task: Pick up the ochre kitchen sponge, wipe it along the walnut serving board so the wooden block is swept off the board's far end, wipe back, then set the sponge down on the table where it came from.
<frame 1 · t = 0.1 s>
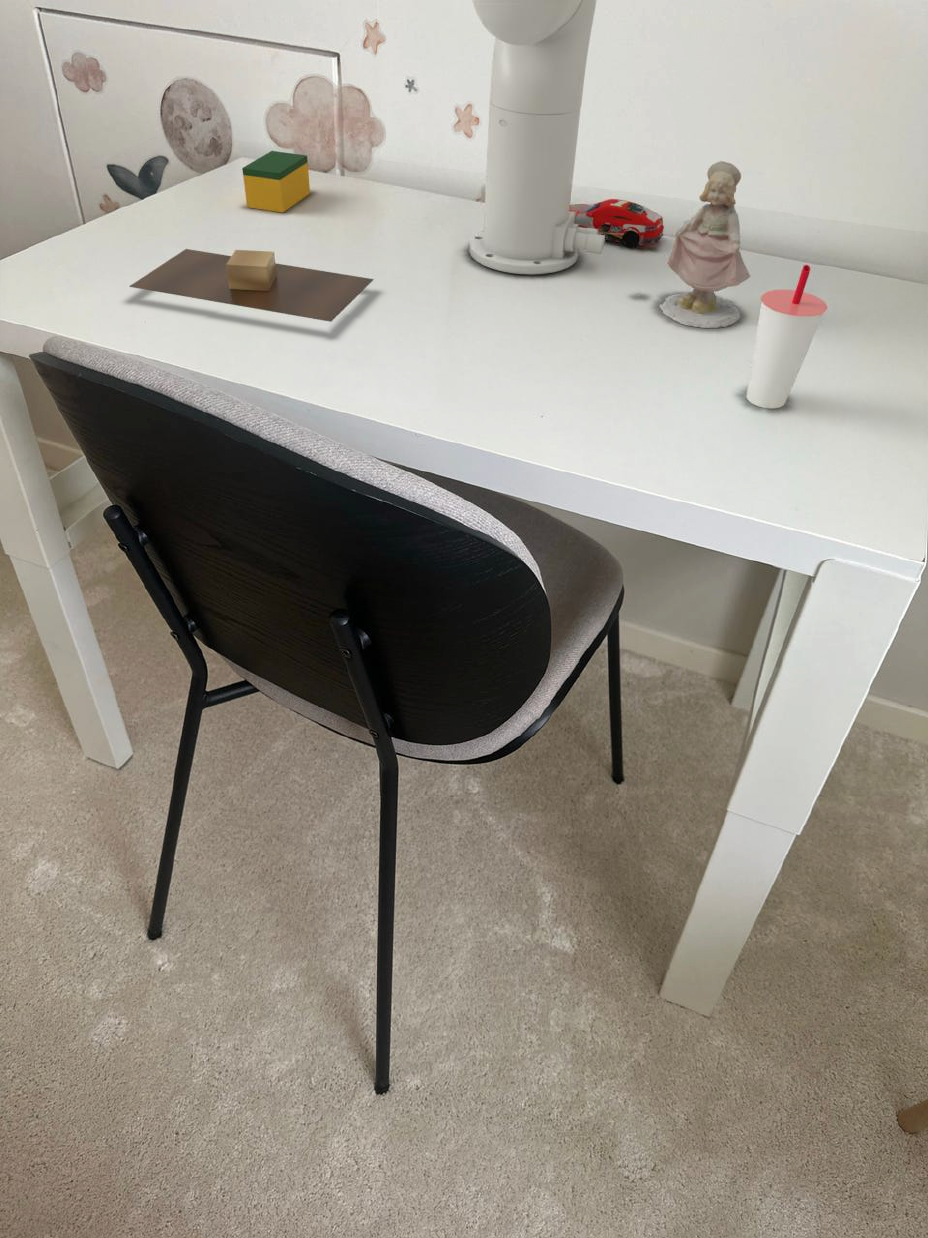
board: (255, 296, 92), on the table
figurine: (687, 310, 94), on the table
race car: (606, 237, 109), on the table
cup: (765, 401, 80), on the table
sponge: (279, 200, 114), on the table
wooden block: (253, 282, 91), point 1 cm above the table, touching board
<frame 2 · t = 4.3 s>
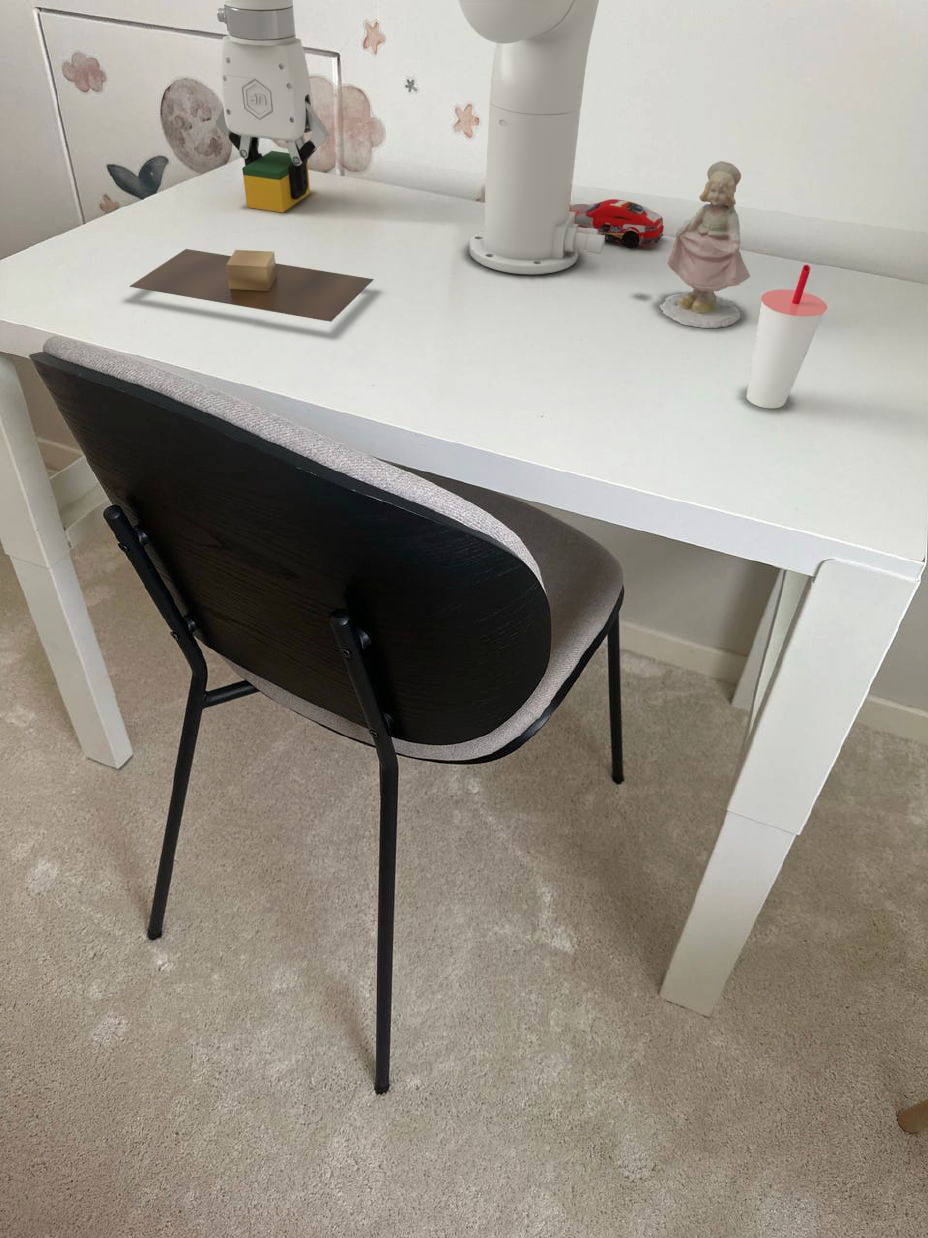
hand: (278, 191, 114), 1 cm above the table, tool pointing down, fingers closed on sponge, 5 cm apart
sponge: (279, 200, 114), on the table, touching gripper
everything else where it was.
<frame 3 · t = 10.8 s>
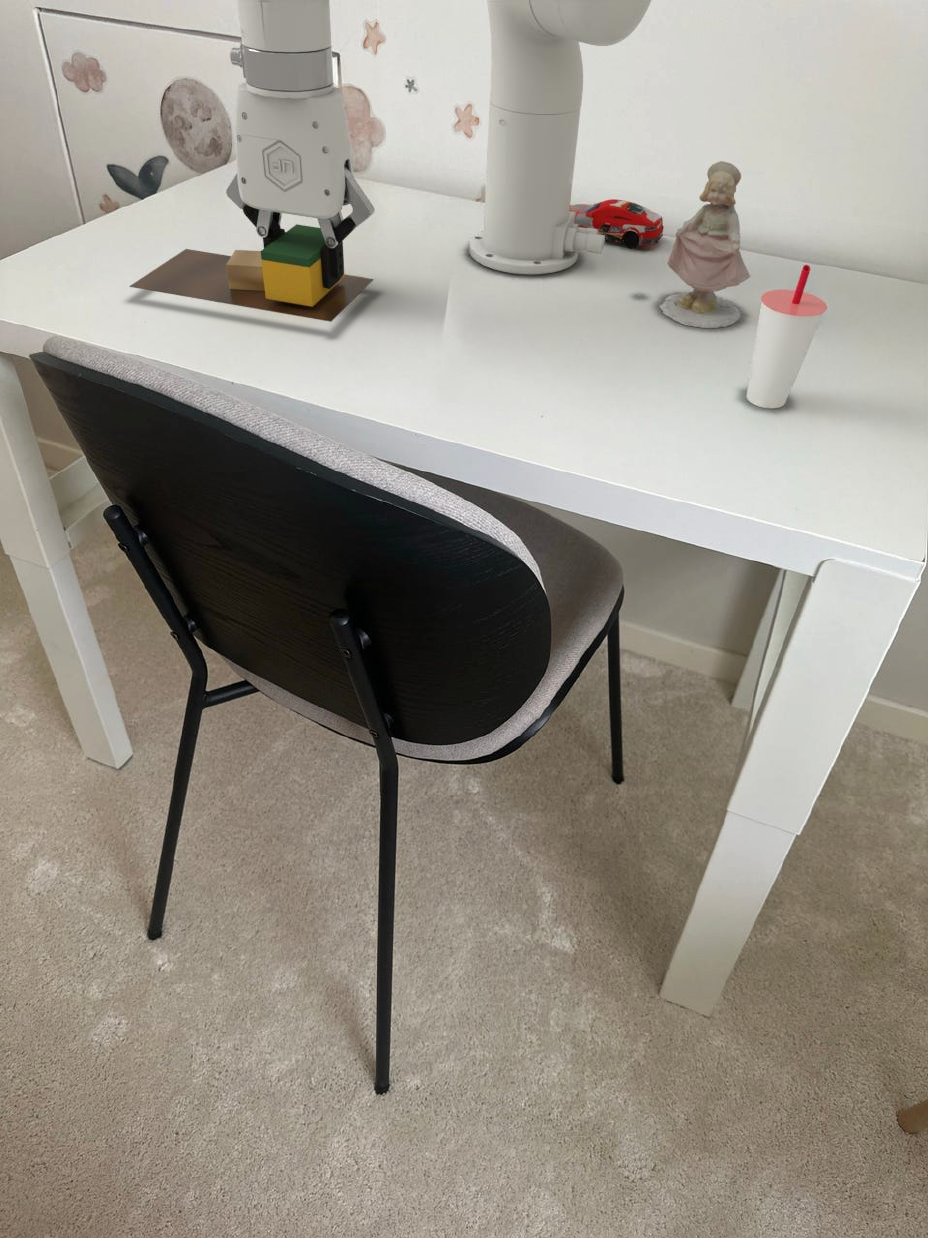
hand: (305, 277, 89), 3 cm above the table, tool pointing down, fingers closed on sponge, 5 cm apart
sponge: (306, 287, 89), point 2 cm above the table, touching gripper
wooden block: (253, 282, 91), point 1 cm above the table, touching board, gripper
everything else where it was.
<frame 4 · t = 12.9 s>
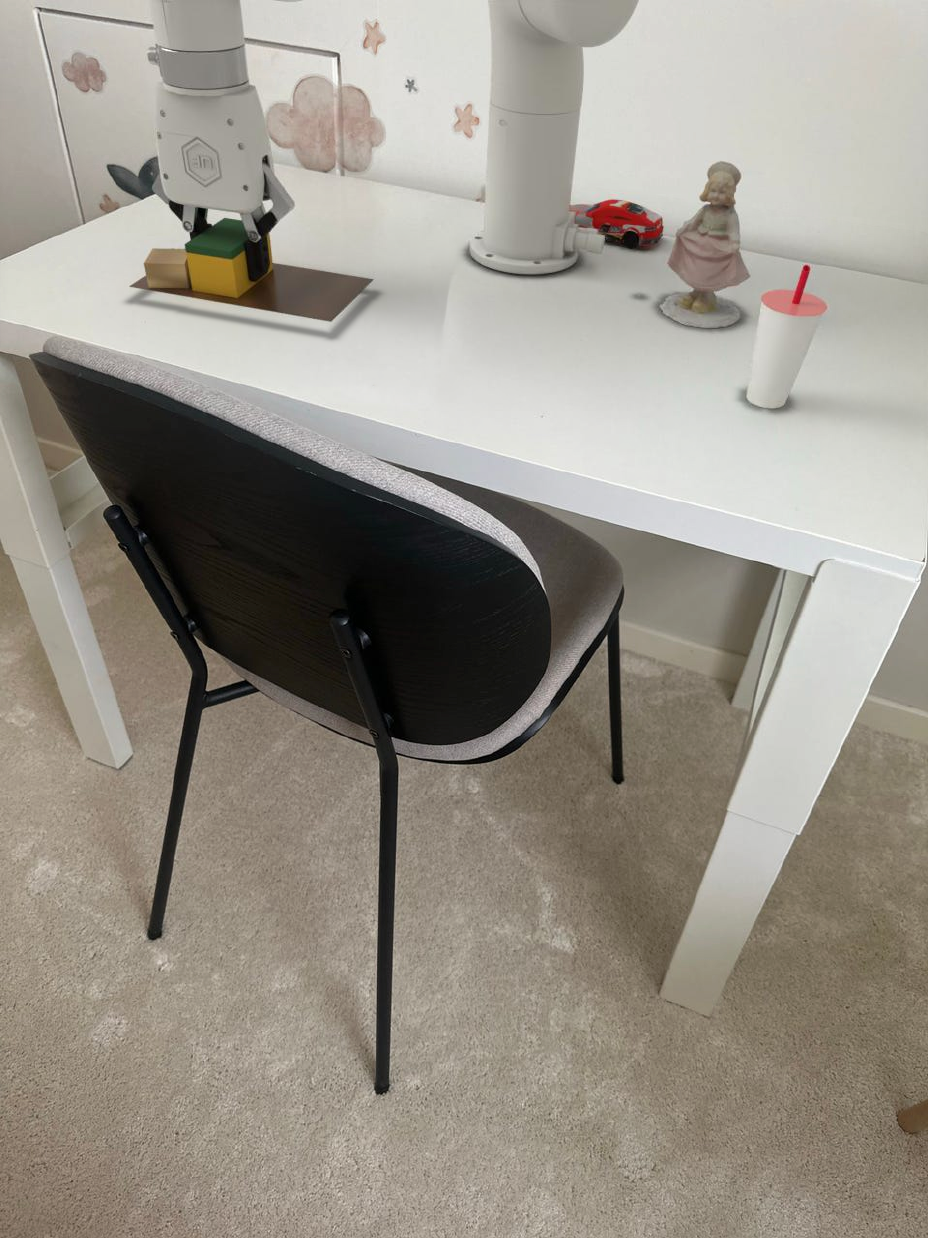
hand: (233, 270, 91), 2 cm above the table, tool pointing down, fingers closed on sponge, 5 cm apart
sponge: (234, 279, 92), point 2 cm above the table, touching gripper
wooden block: (173, 280, 91), point 1 cm above the table, touching board, gripper
everything else where it was.
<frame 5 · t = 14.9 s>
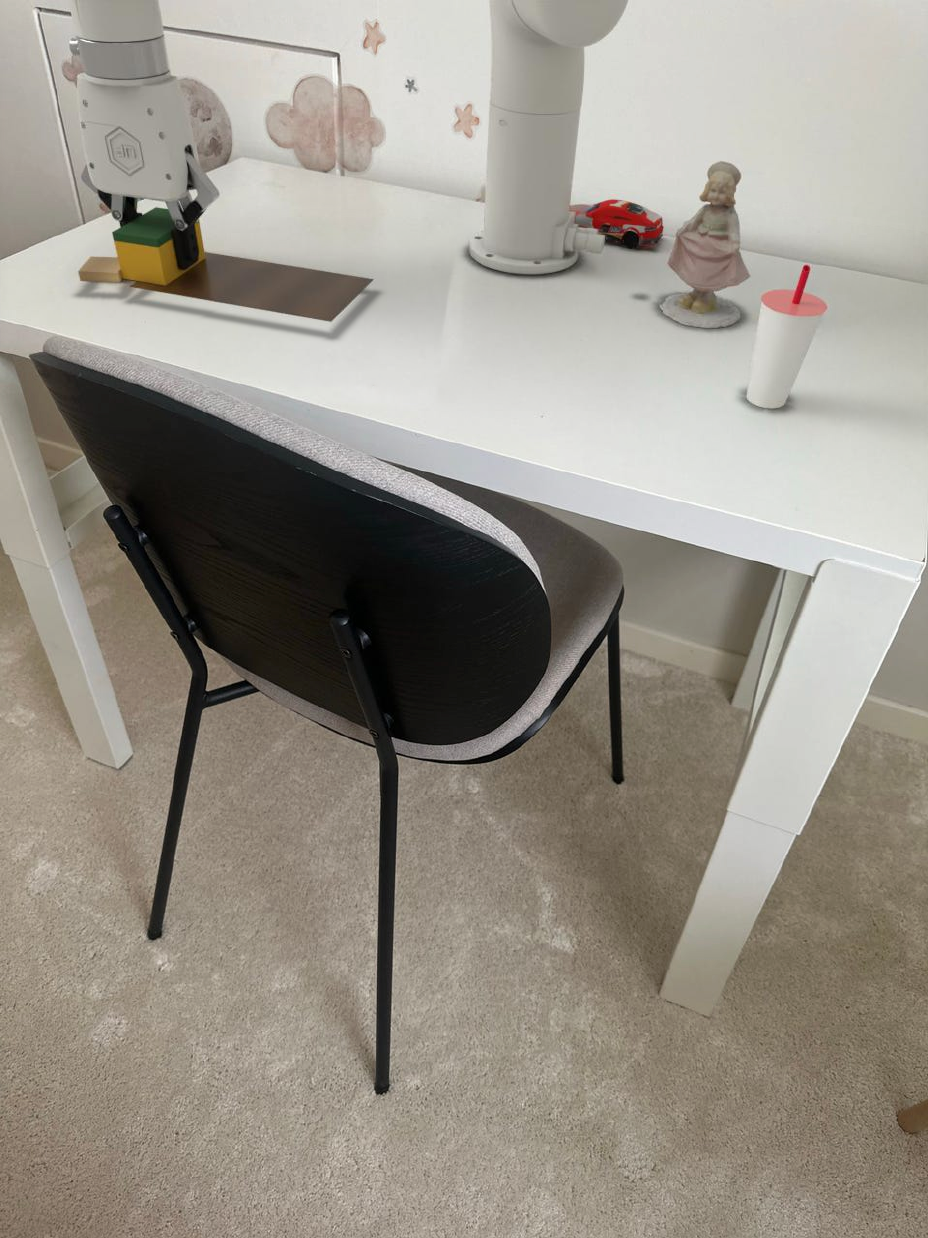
hand: (163, 259, 93), 2 cm above the table, tool pointing down, fingers closed on sponge, 5 cm apart
sponge: (165, 267, 93), point 2 cm above the table, touching gripper
wooden block: (109, 288, 93), on the table
everything else where it was.
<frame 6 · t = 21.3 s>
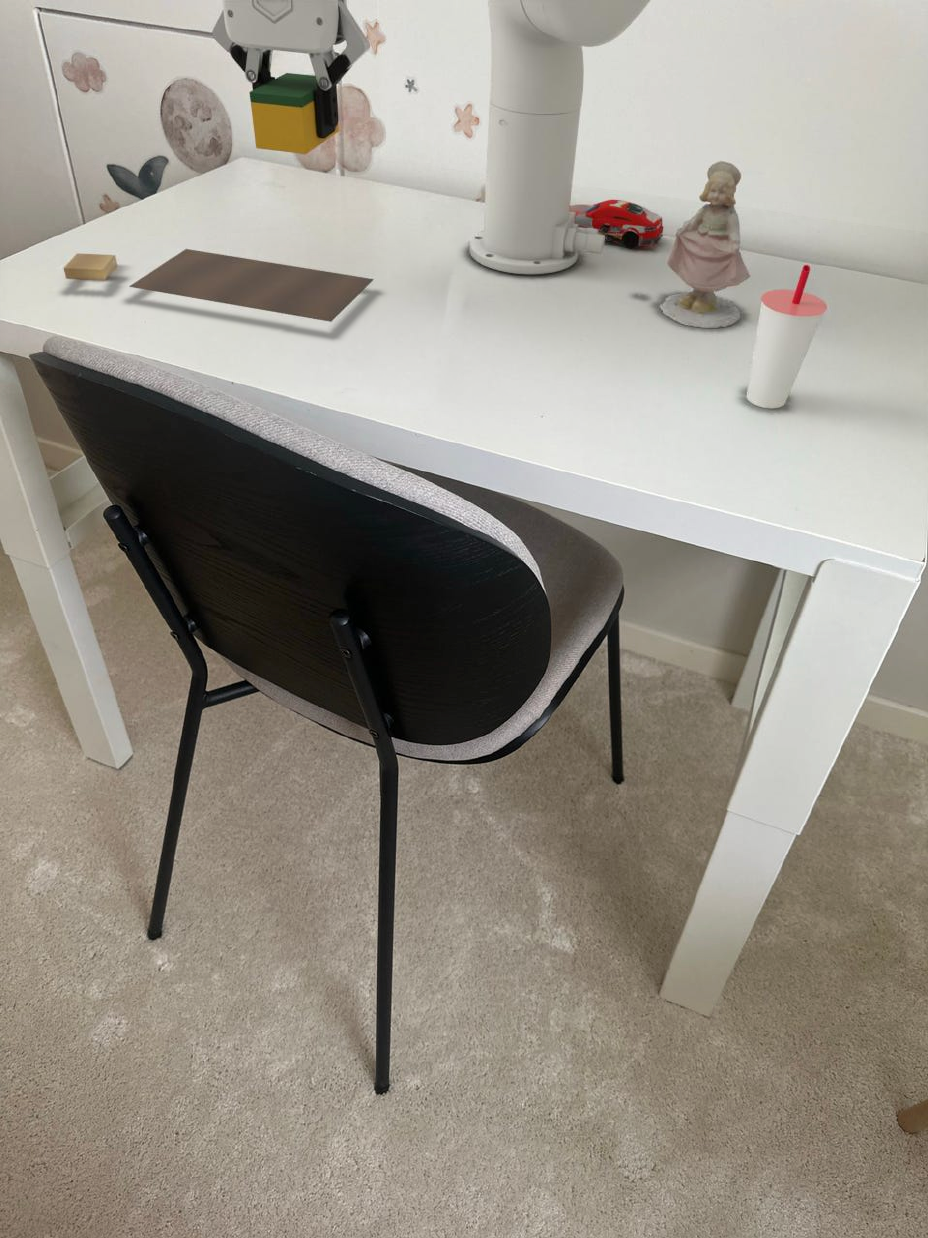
hand: (298, 129, 84), 15 cm above the table, tool pointing down, fingers closed on sponge, 5 cm apart
sponge: (298, 139, 85), point 14 cm above the table, touching gripper
wooden block: (95, 285, 93), on the table
everything else where it was.
when the fingers open (1 cm above the table, at t = 27.1 s): sponge stays where it is, on the table.
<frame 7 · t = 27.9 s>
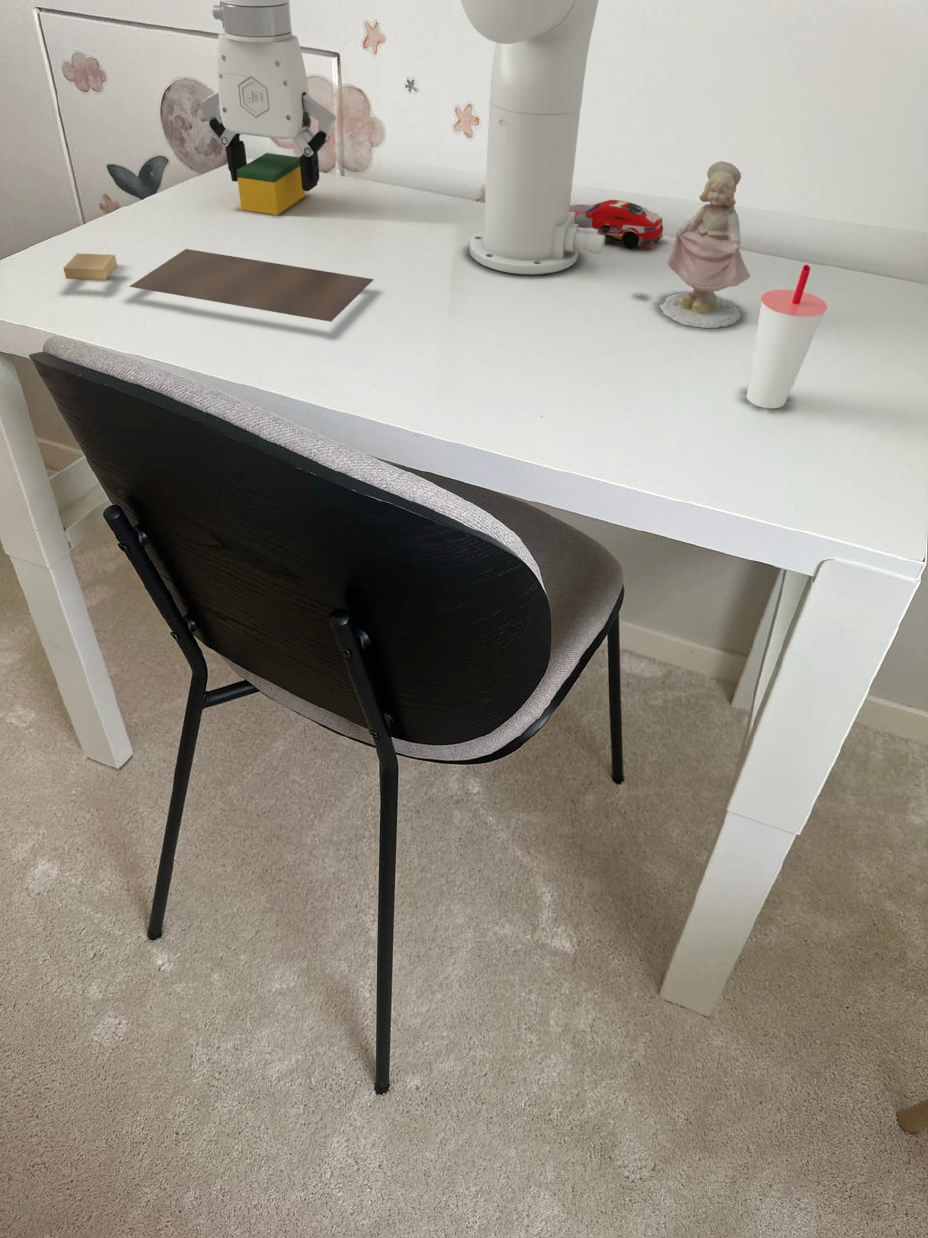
hand: (274, 183, 112), 2 cm above the table, tool pointing down, fingers open, 9 cm apart
sponge: (274, 202, 113), on the table
everything else where it was.
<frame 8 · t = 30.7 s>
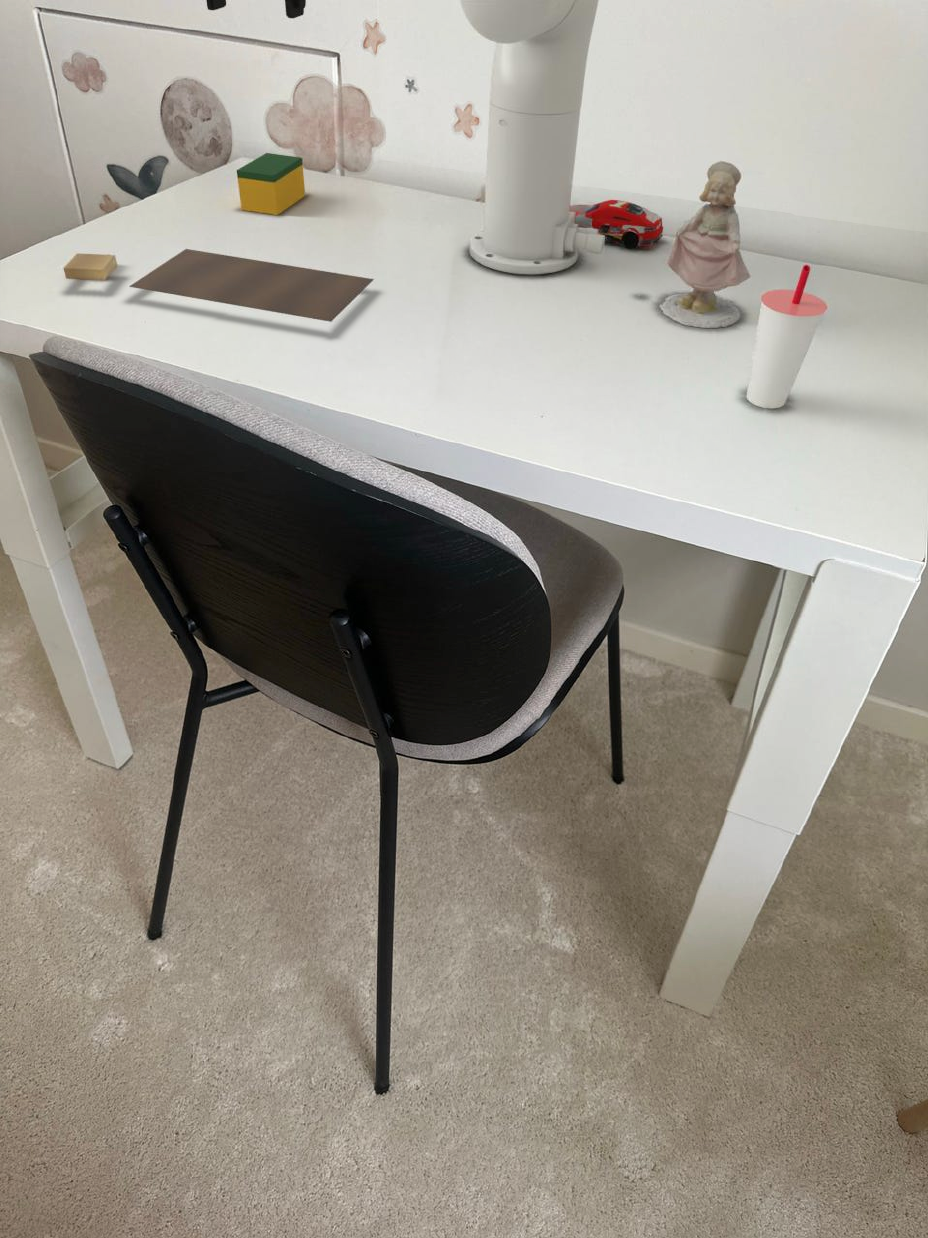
hand: (256, 12, 100), 20 cm above the table, tool pointing down, fingers open, 9 cm apart
nothing on the table moved.
at the end: wooden block inside the target area (5.3 cm from its centre), on the table; sponge inside the target area (0.6 cm from its centre), on the table; the gripper is holding nothing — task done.
